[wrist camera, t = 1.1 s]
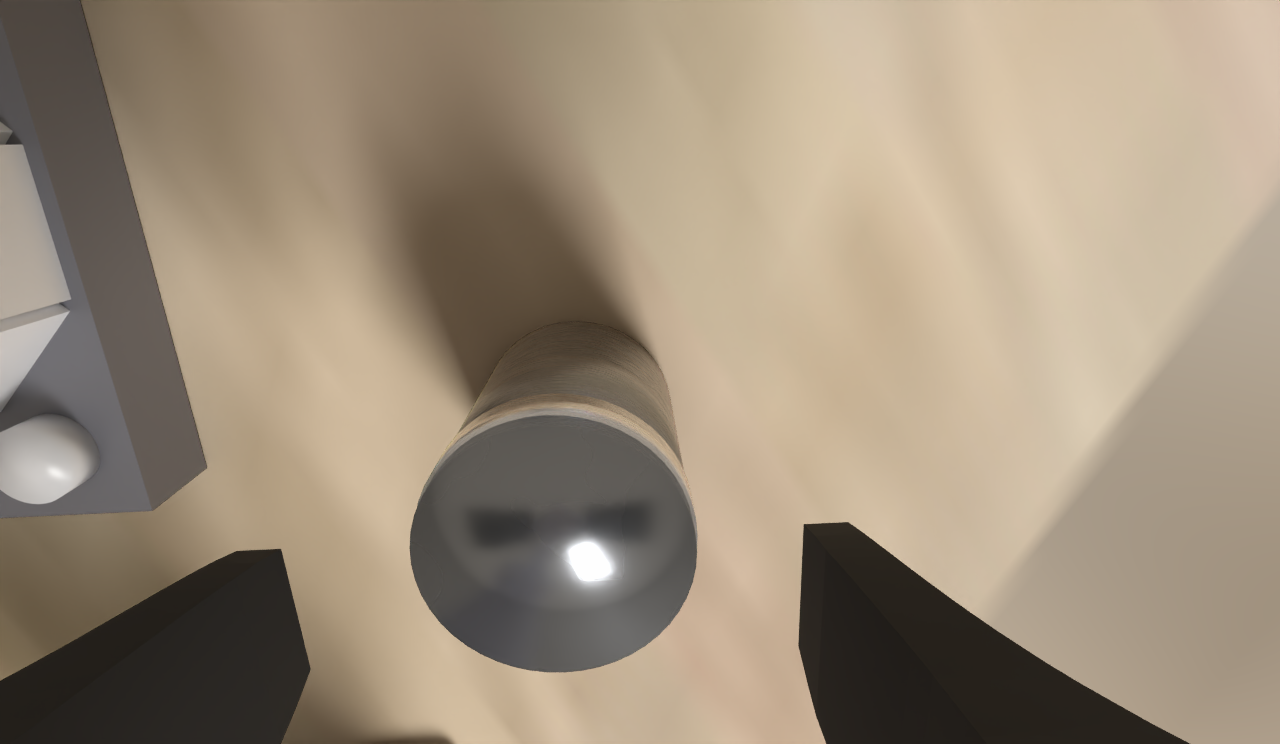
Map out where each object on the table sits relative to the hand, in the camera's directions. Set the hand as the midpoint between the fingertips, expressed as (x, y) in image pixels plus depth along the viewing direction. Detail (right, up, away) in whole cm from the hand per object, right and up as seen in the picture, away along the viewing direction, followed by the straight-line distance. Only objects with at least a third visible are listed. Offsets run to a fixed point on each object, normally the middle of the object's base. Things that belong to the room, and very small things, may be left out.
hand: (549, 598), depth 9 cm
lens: (0, +2, +7) cm, 7 cm away
